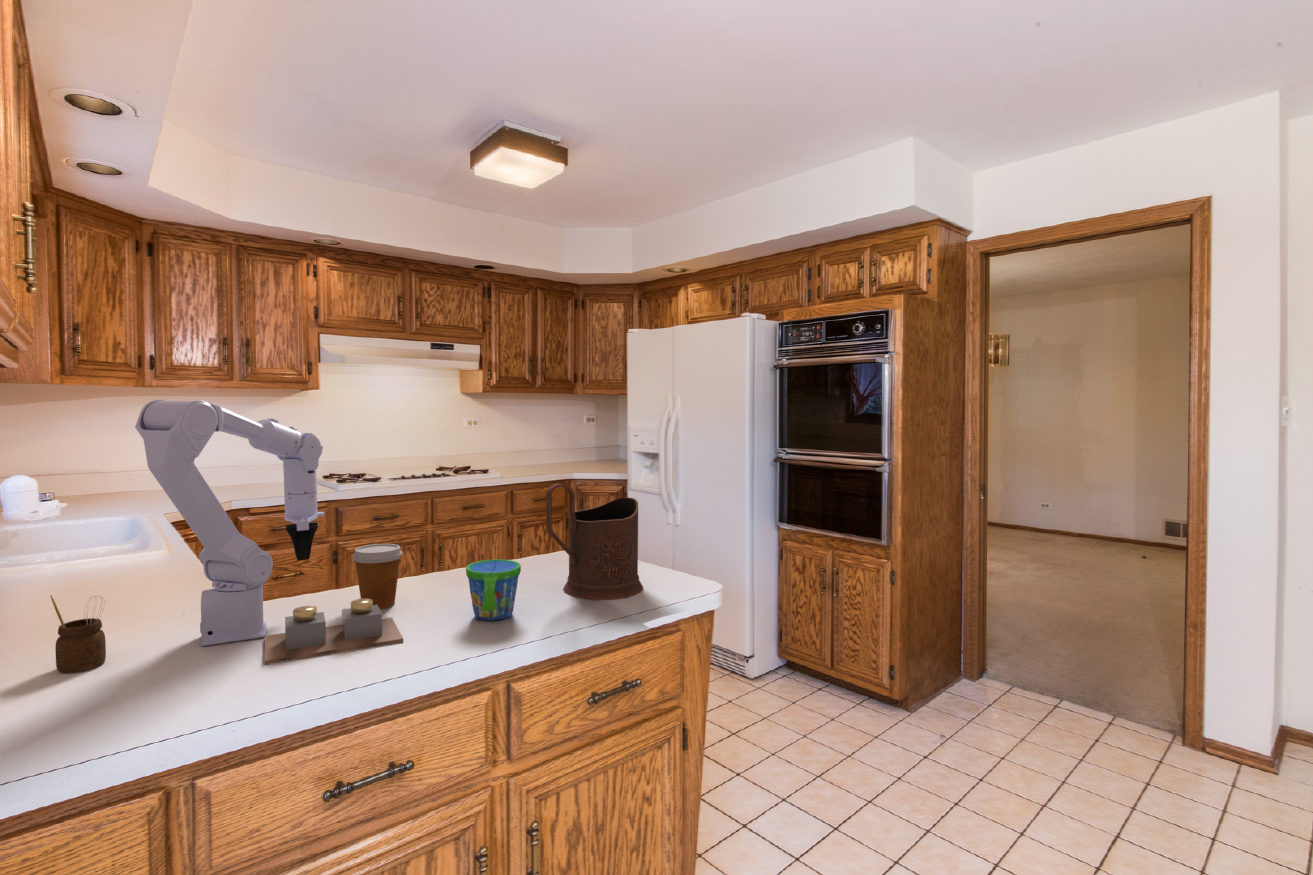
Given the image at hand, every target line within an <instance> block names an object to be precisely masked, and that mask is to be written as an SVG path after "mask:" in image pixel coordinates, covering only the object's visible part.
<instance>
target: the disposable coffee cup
mask: <svg viewBox="0 0 1313 875" xmlns="http://www.w3.org/2000/svg"><path fill="white" fill-rule="evenodd" d="M402 555H403V551H402V550H401V547H400V545H398V544H394V543H375V544H367V545H362V546H359V547H356V548H355V549H354V553H353V555H352V558H353V561H354V563H355V570H356V575H357V582H358V588H359V595H360V596H359V598H360V599H372V600H373V605H378V607H379V609H380V610H383V609H387V608H391V607H393V606H394V605H395V604H396V595H397V589H398V588H397V586H398V580H399V579H398V577H399V570H400V562H401V557H402Z"/></svg>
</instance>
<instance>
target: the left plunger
mask: <svg viewBox="0 0 1313 875" xmlns="http://www.w3.org/2000/svg"><path fill="white" fill-rule="evenodd" d="M317 609H318V608H317V606H315V605H302V606H298V607H295V608H294V609H293V610H292V616H293V620H294V621H309V620H312V619H315V618H316V617H317V613H318V610H317Z"/></svg>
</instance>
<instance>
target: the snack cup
mask: <svg viewBox="0 0 1313 875" xmlns="http://www.w3.org/2000/svg"><path fill="white" fill-rule="evenodd" d="M521 570H522V567H521V564H520V562H518V561H515V560H510V559H484V560H478V561H475V562H471V563H469V564H467V566H465V575H466V576H467V579H468V584H469V592H470V598H471V604H472V610H473V614H474V617H475V618H476V619H477V620H479V619H480V620H482V621H488V622H489V621H491V622H492V621H499V620H504V619H507V618H510V617H511V616H512V615H513V612H514V606H515V602H516V596H517V589H518V581H519V580H518V579H519V577H520V574H521Z"/></svg>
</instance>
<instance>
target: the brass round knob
mask: <svg viewBox="0 0 1313 875" xmlns="http://www.w3.org/2000/svg"><path fill="white" fill-rule="evenodd" d="M350 608H351V613H359V614H360V613H366V612H370V611H372V610H373V600H372V599H361V598H357V599H354V600H352V601H350Z"/></svg>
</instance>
